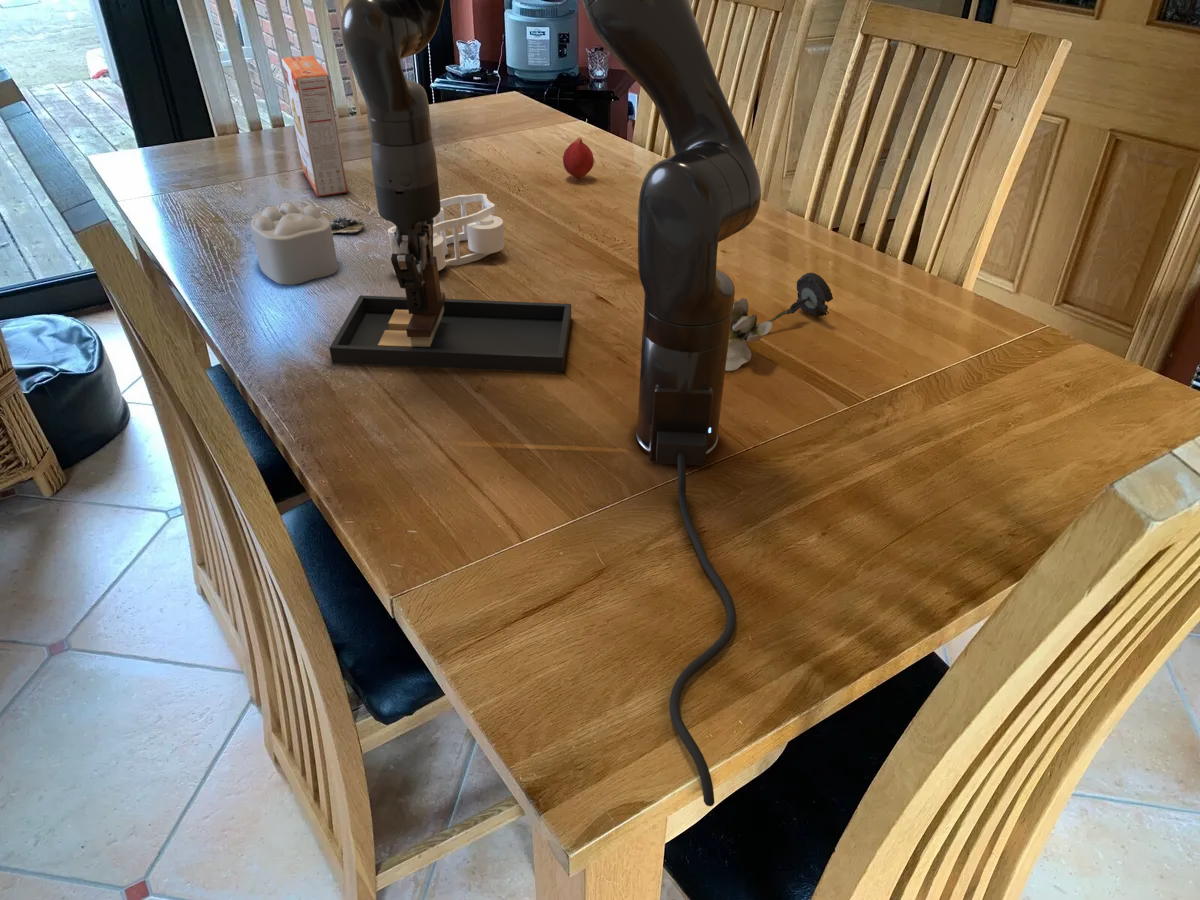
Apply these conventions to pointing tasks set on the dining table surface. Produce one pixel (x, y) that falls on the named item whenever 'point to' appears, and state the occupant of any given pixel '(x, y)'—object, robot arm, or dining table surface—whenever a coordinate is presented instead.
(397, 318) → the offcut
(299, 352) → the dining table surface
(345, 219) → the lumpy flat slab
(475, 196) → the wheeled car silhouette
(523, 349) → the tray
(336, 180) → the cracker box
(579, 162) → the onion
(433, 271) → the brush
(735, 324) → the artificial flower
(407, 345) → the offcut
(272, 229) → the lumpy-topped squat cylinder
